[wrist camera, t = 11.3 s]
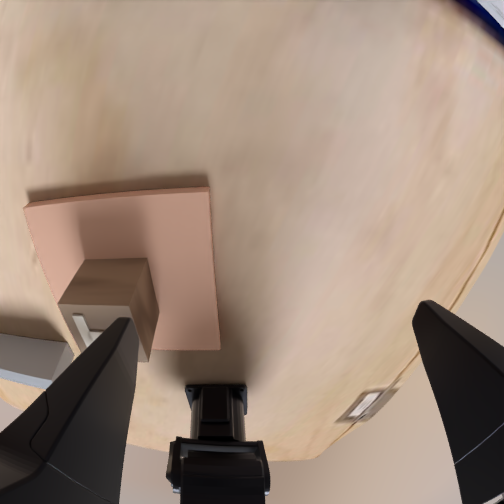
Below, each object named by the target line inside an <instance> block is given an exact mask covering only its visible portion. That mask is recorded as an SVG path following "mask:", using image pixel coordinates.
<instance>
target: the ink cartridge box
mask: <svg viewBox="0 0 504 504" xmlns="http://www.w3.org/2000/svg"><path fill="white" fill-rule="evenodd" d="M477 1H478V2H479V3H480V4H481V5H482V6H483V7H484V8H485V9H486V10H487V11H488V12H489V13H490V14H491V15H492V16H493V17H494V18H495V19H496V21H497V22H498V23H499V24H500V25H501V26H502V27H503V28H504V0H477Z"/></svg>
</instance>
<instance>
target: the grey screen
mask: <svg viewBox="0 0 504 504" xmlns="http://www.w3.org/2000/svg"><path fill="white" fill-rule="evenodd" d="M73 357H74V354H73V352H72V350H71V349H70V347H69V345H68V343H66V342H57V341H49V340H41V339H34V338H27V337H20V336H14V335H8V334H2V333H0V378H3V379H6V380H10V381H13V382H17V383H21V384H25V385H29V386H33V387H37V388H42V389H47V388H48V387H49V386H50V385H51V383H52V382H53V381H54V380H55V379H56V378H57V377H58V376H59V375H60V374H61V373H62V372H63V371H64V370H65V369H66V368H67V367H68V366H69V365H70V364H71V362H72V360H73Z"/></svg>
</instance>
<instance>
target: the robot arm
mask: <svg viewBox="0 0 504 504" xmlns="http://www.w3.org/2000/svg"><path fill="white" fill-rule="evenodd" d="M412 326H413V330H414V333H415V336H416V340H417V343H418V347H419V351H420V354H421V358H422V361H423V364H424V367H425V370H426V373H427V376H428V379H429V381H430V384H431V387H432V390H433V393H434V396H435V399H436V402H437V405H438V408H439V411H440V414H441V418H442V421H443V424H444V428H445V431H446V435H447V438H448V442H449V446H450V449H451V453H452V457H453V461H454V464H455V465H454V466H455V470H456V474H457V479H458V484H459V489H460V494H461V499H462V504H484V503H486V502H488V501H489V500H492V499H493V498H495V497H497V496H499V495H501V494H502V496H503V498H501V499H500V500H498V501H497V502H496V503H494V504H504V347H503V346H501V345H500V344H499V343H497V342H496V341H494V340H493V339H491V338H490V337H488V336H487V335H485V334H484V333H482V332H481V331H479V330H478V329H476V328H475V327H473V326H472V325H470V324H469V323H467V322H466V321H464V320H462V319H461V318H459V317H458V316H456V315H455V314H453V313H452V312H450V311H448V310H447V309H445V308H444V307H442V306H440V305H439V304H437V303H436V302H434V301H432V300H426V301H421V302H420V303H419V305H418V308H417V310H416V312H415V315H414V317H413V320H412ZM138 352H139V336H138V333H137V330H136V327H135V324H134V321H133V319H132V318H130V317H119V318H117V319H116V320H115V321H114V322H113V323H112V324H111V325H110V326H109V327H108V328H107V329H105V330H104V331H103V332H102V333H101V334H100V335H99V336H98V337H97V338H96V339H95V340H94V341H93V342H92V343H91V344H90V345H89V346H88V347H87V348H86V349H85V350H84V351H83V352H82V353H81V354H80V355H79V356H78V357H77V358H76V359H75V360H74V361H73V362H72V363H71V364H70V365H69V366H68V367H67V368H66V369H65V370H64V371H63V372H62V373H61V374H60V375H59V376H58V377H57V378H56V379H55V380H54V381H53V382H52V383H51V385H50V386H49V387H48V388H47V389H46V392H45V391H44V392H43V393H42V394H41V395H40V396H39V397H38V398H37V399H36V400H35V401H34V402H33V403H32V404H31V405H30V406H29V407H28V408H27V409H26V410H25V411H24V412H23V413H22V414H21V415H20V416H19V417H17V418H16V419H15V420H14V421H13V422H12V423H11V424H10V425H9V426H7V427H6V428H5V429H4V430H3V431H2V432H1V433H0V504H119V498H120V487H121V478H122V470H123V462H124V454H125V447H126V440H127V434H128V428H129V421H130V415H131V410H132V404H133V399H134V393H135V386H136V375H137V363H138ZM185 392H186V395H187V399H188V402H189V405H190V408H191V411H192V412H191V431H190V438H182V437H178V436H176V441H173V442H170V451H169V459H168V465H167V471H166V478H167V479H168V480H169V481H170V482H171V486H172V487H173V493H178V494H180V504H265V496H267V495H268V494H269V491H270V472H269V467H268V462H267V458H266V454H265V449H264V445H263V441H246V436H245V421H244V415H246V414H247V387H246V385H243V384H239V385H187V386H185ZM182 457H183V458H182Z"/></svg>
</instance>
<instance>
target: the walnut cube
mask: <svg viewBox="0 0 504 504" xmlns="http://www.w3.org/2000/svg"><path fill="white" fill-rule="evenodd" d="M57 305H58V307H59V309H60V311H61V313H62V316H63V318H64V320H65V322H66V324H67V326H68V328H69V330H70V332H71V334H72V336H73V338H74V340H75V342H76V344H77V346H78V348H79V349H80V351H81V353H82V352H83V351H84V350H85V349H86V348H87V347H88V346H89V345H90V344H91V343H92V342H93V341H94V340H95V339H96V338H97V337H98V336H99V335H100V334H101V333H102V332H103V331H104V330H105V329H107V328H108V327H109V326H110V325H111V324H112V323H113V322H114V321H115V320H116V319H117V318H119V317H130V318H132V319H133V321H134V324H135V327H136V330H137V333H138V336H139V352H138V362H149V358H150V353H151V348H152V344H153V339H154V335H155V330H156V326H157V322H158V317H159V313H160V311H159V307H158V303H157V299H156V295H155V291H154V286H153V282H152V277H151V273H150V268H149V263H148V258H120V259H86V260H84V262H83V263H82V265H81V266H80V268H79V269H78V271H77V272H76V274H75V275H74V277H73V279H72V280H71V282H70V283H69V285H68V287H67V288H66V290H65V291H64V293H63V295H62V296H61V298H60V300H59V302H58V303H57Z"/></svg>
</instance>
